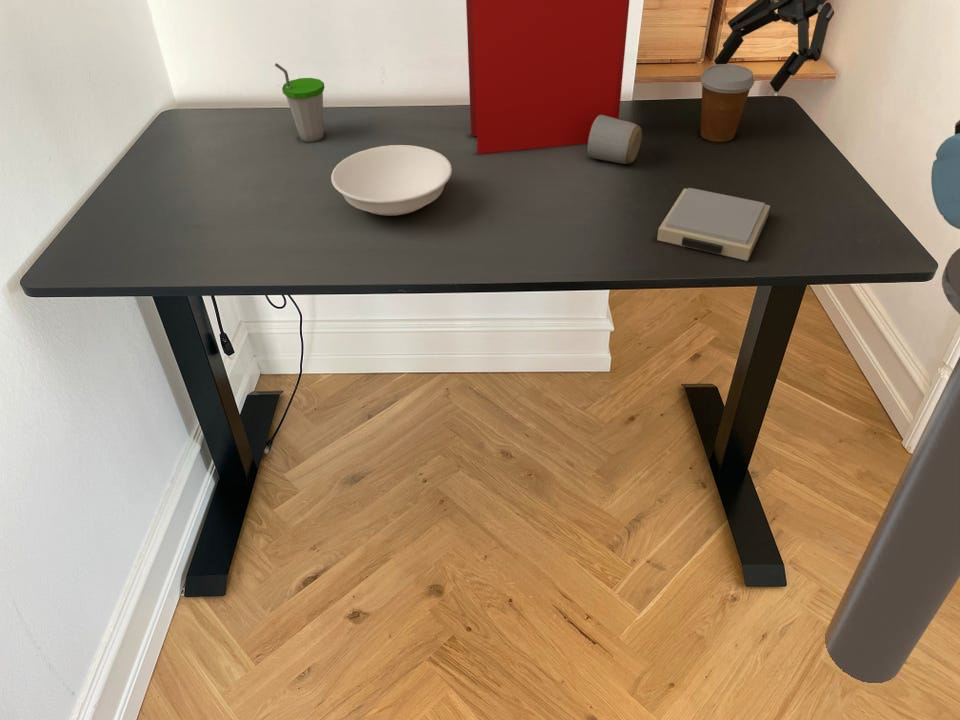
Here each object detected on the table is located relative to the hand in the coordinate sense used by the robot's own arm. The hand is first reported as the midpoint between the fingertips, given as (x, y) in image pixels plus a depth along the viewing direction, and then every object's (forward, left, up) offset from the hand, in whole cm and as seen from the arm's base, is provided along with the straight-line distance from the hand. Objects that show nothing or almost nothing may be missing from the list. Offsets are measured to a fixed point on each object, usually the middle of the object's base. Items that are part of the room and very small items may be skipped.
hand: (744, 76), depth 145 cm
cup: (+74, +37, -10) cm, 83 cm away
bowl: (+45, +53, -10) cm, 70 cm away
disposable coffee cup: (+2, +4, -10) cm, 11 cm away
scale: (-6, +38, -10) cm, 40 cm away
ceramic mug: (+17, +21, -10) cm, 29 cm away
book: (+32, +19, -10) cm, 38 cm away
